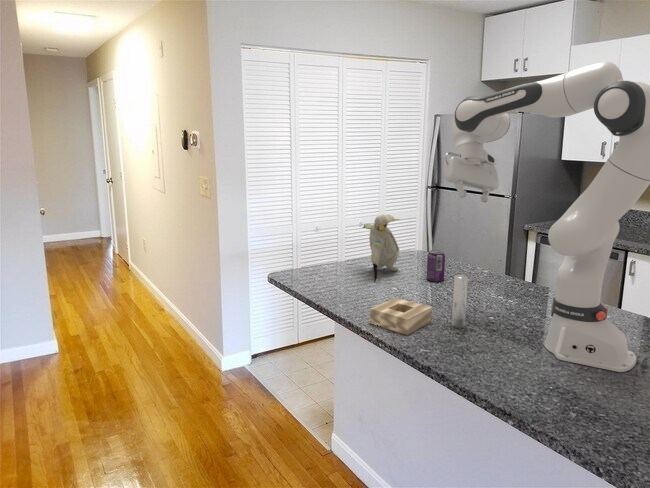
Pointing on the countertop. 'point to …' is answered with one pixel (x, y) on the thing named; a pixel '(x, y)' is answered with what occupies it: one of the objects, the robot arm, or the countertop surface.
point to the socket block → (400, 315)
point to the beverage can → (435, 265)
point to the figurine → (382, 244)
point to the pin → (459, 301)
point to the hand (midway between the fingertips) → (473, 199)
